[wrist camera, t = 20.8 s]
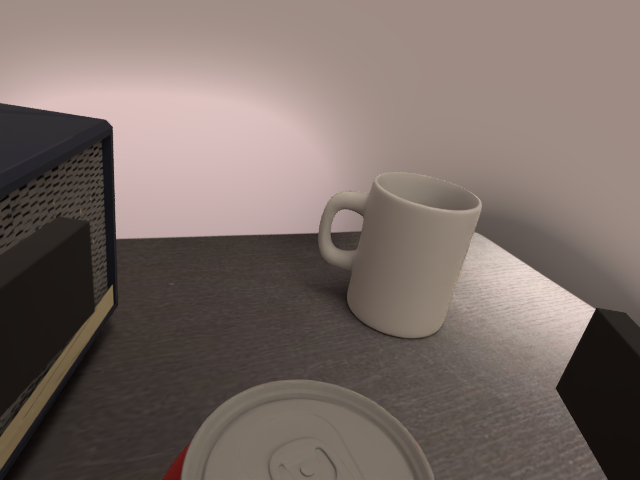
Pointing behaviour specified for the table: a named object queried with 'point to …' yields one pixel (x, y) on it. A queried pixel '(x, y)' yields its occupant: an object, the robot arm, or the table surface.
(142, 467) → the table surface
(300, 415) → the beverage can
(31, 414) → the speaker
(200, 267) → the table surface
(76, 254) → the robot arm
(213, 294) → the table surface
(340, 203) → the mug
